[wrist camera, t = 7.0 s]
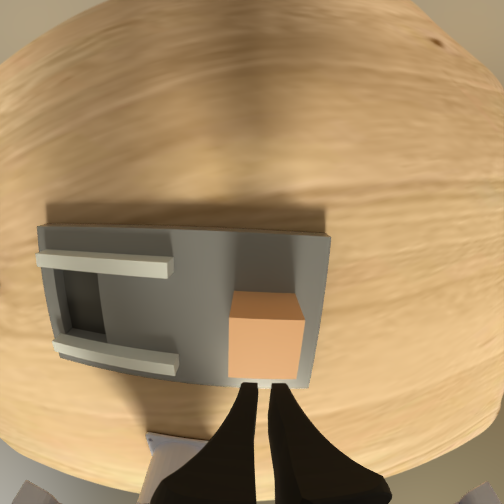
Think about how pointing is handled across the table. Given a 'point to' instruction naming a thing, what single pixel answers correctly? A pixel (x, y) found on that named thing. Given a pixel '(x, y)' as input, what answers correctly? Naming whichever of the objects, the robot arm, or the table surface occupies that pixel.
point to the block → (265, 335)
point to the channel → (173, 294)
